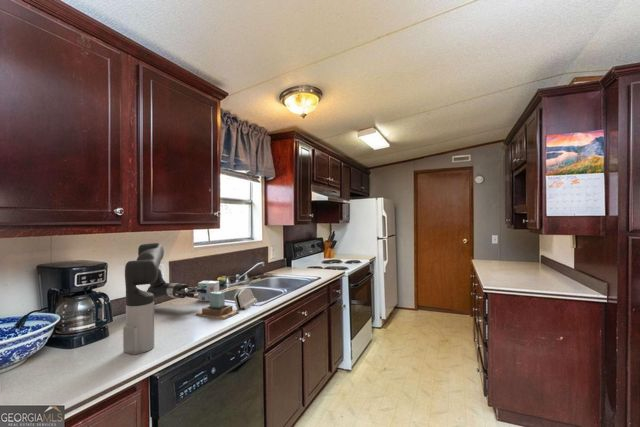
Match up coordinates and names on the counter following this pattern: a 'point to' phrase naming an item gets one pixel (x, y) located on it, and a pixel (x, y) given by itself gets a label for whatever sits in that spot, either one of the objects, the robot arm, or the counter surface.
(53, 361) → the counter surface
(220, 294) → the grey-green block
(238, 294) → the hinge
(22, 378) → the counter surface
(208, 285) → the light bulb box
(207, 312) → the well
